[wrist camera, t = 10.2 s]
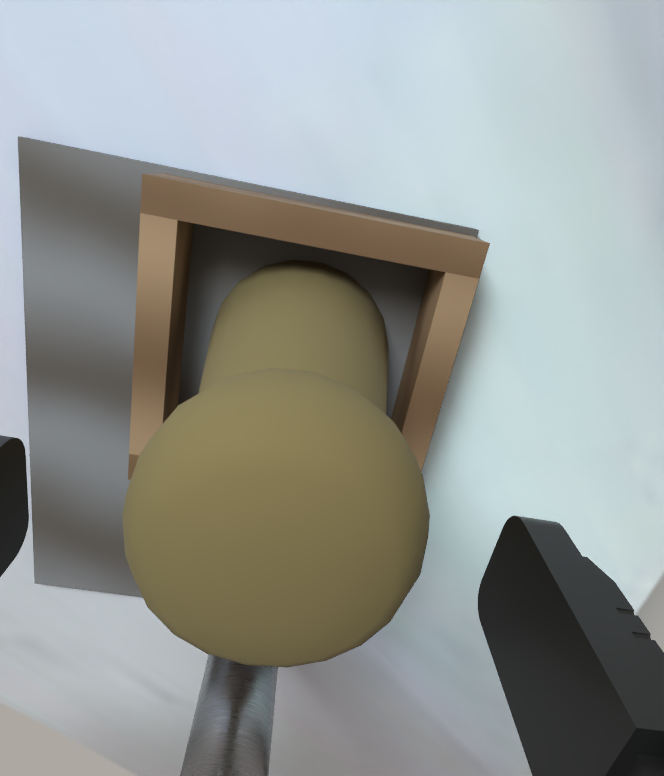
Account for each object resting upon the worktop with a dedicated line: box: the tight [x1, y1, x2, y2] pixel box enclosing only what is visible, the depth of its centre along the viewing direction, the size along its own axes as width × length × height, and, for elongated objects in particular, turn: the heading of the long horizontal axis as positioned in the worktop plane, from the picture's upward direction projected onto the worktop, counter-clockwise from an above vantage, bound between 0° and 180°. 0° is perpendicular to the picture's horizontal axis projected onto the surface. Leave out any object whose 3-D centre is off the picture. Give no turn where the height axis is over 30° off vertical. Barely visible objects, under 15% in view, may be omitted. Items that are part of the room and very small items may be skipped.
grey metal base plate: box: [18, 137, 490, 597], centre depth 18 cm, size 17×14×2 cm
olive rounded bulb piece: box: [122, 260, 430, 667], centre depth 13 cm, size 6×6×11 cm
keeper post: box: [180, 654, 278, 776], centre depth 16 cm, size 2×2×12 cm
